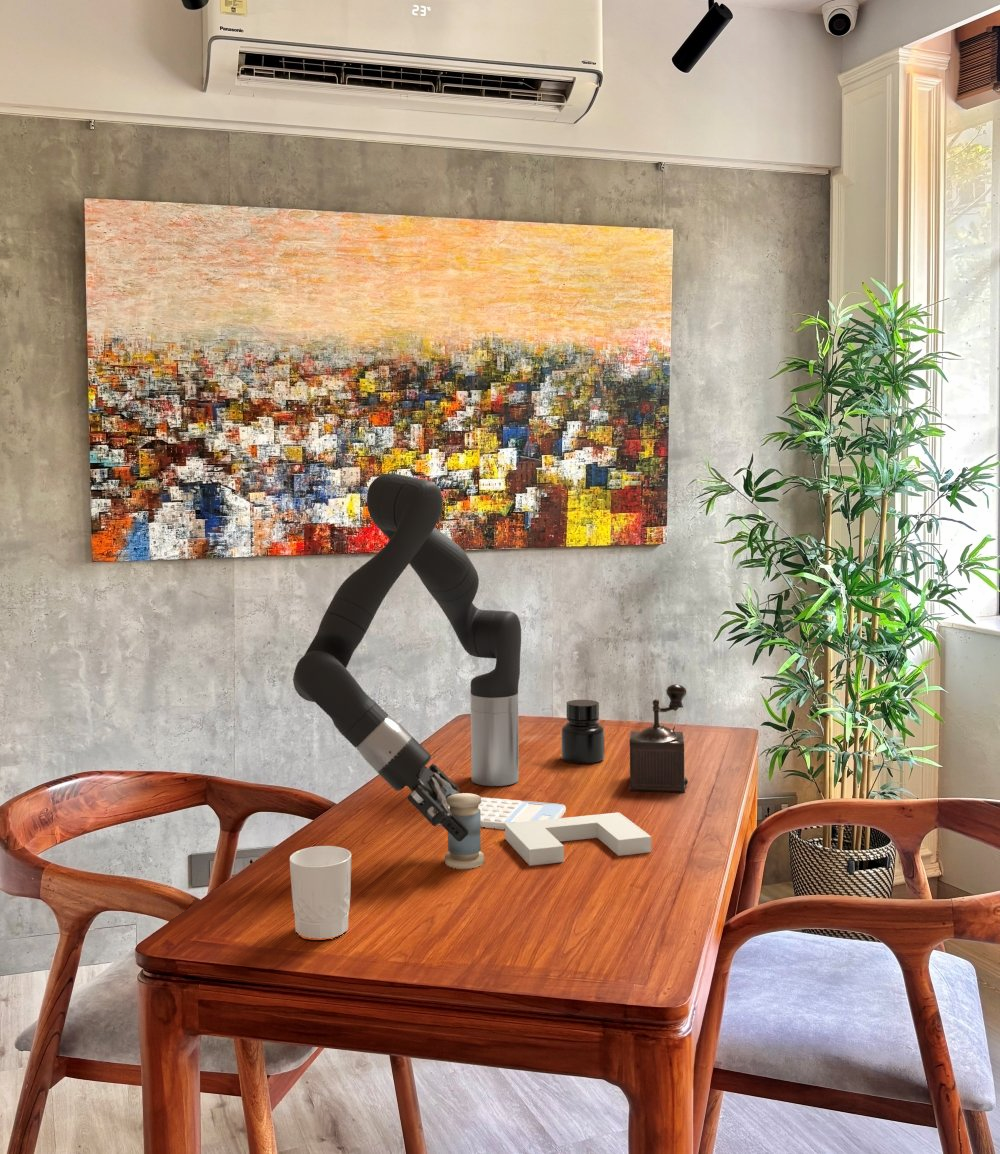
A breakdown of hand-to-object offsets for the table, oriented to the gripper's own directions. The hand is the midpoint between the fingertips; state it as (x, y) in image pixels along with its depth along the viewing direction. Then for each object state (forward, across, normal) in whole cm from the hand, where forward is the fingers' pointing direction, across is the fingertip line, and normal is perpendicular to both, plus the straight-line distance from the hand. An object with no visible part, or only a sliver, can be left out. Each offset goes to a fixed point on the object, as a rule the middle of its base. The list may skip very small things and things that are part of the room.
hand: (468, 828), depth 164 cm
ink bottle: (+15, +63, -7) cm, 65 cm away
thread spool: (+3, 0, +4) cm, 5 cm away
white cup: (-7, -27, +15) cm, 31 cm away
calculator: (+6, +23, +2) cm, 24 cm away
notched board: (+15, +9, -8) cm, 19 cm away
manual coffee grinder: (+26, +47, -18) cm, 57 cm away
